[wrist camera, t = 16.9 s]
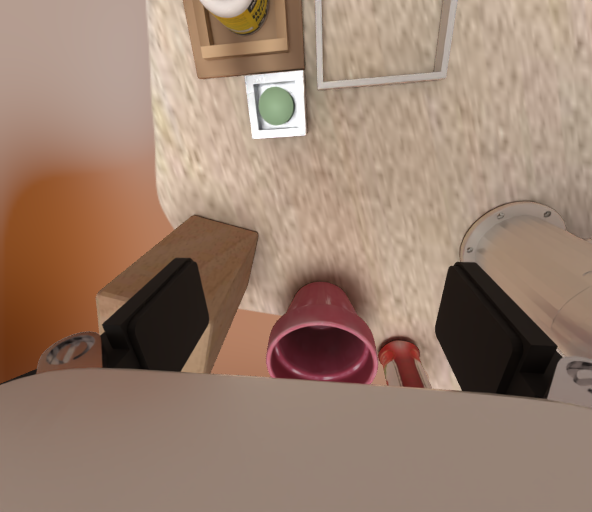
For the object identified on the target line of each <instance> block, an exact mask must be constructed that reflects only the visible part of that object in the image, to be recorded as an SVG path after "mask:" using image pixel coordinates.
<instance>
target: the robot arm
mask: <svg viewBox="0 0 592 512" xmlns="http://www.w3.org/2000/svg"><path fill="white" fill-rule="evenodd" d="M460 259H461V262H456V263H455V264H454V266H450V267H449V269H448V273H447V277H446V281H445V286H444V290H443V294H442V299H441V303H440V307H439V312H438V316H437V321H436V325H435V333H436V336H437V339H438V341H439V343H440V345H441V347H442V349H443V351H444V353H445V355H446V358H447V360H448V362H449V364H450V366H451V368H452V370H453V372H454V374H455V377H456V379H457V381H458V383H459V385H460V387H461V389H462V391H455V390H442V389H428V388H414V387H400V386H387V385H373V384H359V383H345V382H331V381H316V380H301V379H286V378H271V377H256V376H239V375H223V374H208V373H191V372H181V370H182V369H183V367H184V365H185V364H186V362H187V360H188V359H189V357H190V355H191V353H192V352H193V350H194V348H195V347H196V345H197V343H198V342H199V340H200V338H201V336H202V335H203V333H204V331H205V330H206V328H207V326H208V324H209V313H208V309H207V304H206V300H205V296H204V291H203V287H202V282H201V278H200V273H199V269H198V265H197V263H196V262H193V260H192V259H191V258H174V259H173V260H172V261H171V262H170V263H169V264H168V265H167V266H165V267H164V268H163V269H162V270H161V271H160V272H159V273H158V274H157V275H156V276H154V277H153V278H152V279H151V280H150V281H149V282H148V283H147V284H146V285H145V286H143V287H142V288H141V289H140V290H139V291H138V292H137V293H136V294H135V295H134V296H132V297H131V298H130V299H129V300H128V301H127V302H126V303H125V304H124V305H123V306H121V307H120V308H119V309H118V310H117V311H116V312H115V313H114V314H113V315H112V316H110V317H109V318H108V319H107V320H106V321H105V322H104V323H103V324H102V326H103V329H104V331H105V332H104V333H102V334H101V335H99V334H98V333H96V332H81V333H77V334H73V335H71V336H68V337H66V338H64V339H62V340H60V341H58V342H56V343H55V344H53V345H52V346H51V347H49V348H48V349H47V350H46V351H45V352H44V353H43V354H42V356H41V358H40V360H39V363H38V367H37V369H36V370H33V371H30V372H28V373H26V374H23V375H21V376H18V377H16V378H14V379H11V380H9V381H6V382H4V383H1V384H0V512H592V239H581V238H579V237H577V236H575V235H573V234H571V233H569V232H567V231H566V226H565V223H564V221H563V219H562V217H561V216H560V215H559V214H558V213H557V212H556V211H555V210H553V209H551V208H549V207H547V206H545V205H542V204H539V203H536V202H529V201H526V202H515V203H510V204H506V205H503V206H500V207H498V208H496V209H494V210H492V211H490V212H488V213H487V214H485V215H484V216H483V217H481V218H480V219H479V220H478V221H477V222H476V223H475V224H474V225H473V226H472V227H471V228H470V230H469V231H468V232H467V234H466V236H465V238H464V240H463V242H462V245H461V249H460ZM557 348H558V349H559V350H560V351H561V352H562V353H563V354H564V355H565V356H566V357H565V358H563V357H562V356H561V355H560V354H559V353H558V352H557V351H556V349H557Z"/></svg>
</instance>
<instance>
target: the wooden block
mask: <svg viewBox="0 0 592 512" xmlns="http://www.w3.org/2000/svg"><path fill="white" fill-rule="evenodd" d="M257 240H258V233H256V232H253V231H249V230H246V229H242V228H238V227H235V226H231V225H227V224H224V223H220V222H217V221H213V220H209V219H206V218H202V217H198V216H191V217H190V218H189V219H188V220H186V221H185V222H184V223H183V224H181V225H180V226H179V227H178V228H176V229H175V230H174V231H173V232H172V233H170V234H169V235H168V236H167V237H165V238H164V239H163V240H162V241H161V242H159V243H158V244H157V245H155V246H154V247H153V248H152V249H151V250H149V251H148V252H147V253H146V254H144V255H143V256H142V257H141V258H140V259H138V260H137V261H136V262H134V263H133V264H132V265H131V266H130V267H128V268H127V269H126V270H125V271H123V272H122V273H121V274H120V275H118V276H117V277H116V278H115V279H114V280H112V281H111V282H110V283H109V284H107V285H106V286H105V287H104V288H102V289H101V290H100V291H99V292H98V293H97V296H96V304H97V314H98V324H99V334H100V335H101V334H102V333H104V332H105V331H104V329H103V326H102V324H103V323H104V322H105V321H106V320H107V319H108V318H109V317H110V316H112V315H113V314H114V313H115V312H116V311H117V310H118V309H119V308H120V307H121V306H123V305H124V304H125V303H126V302H127V301H128V300H129V299H130V298H131V297H132V296H134V295H135V294H136V293H137V292H138V291H139V290H140V289H141V288H142V287H143V286H145V285H146V284H147V283H148V282H149V281H150V280H151V279H152V278H153V277H154V276H156V275H157V274H158V273H159V272H160V271H161V270H162V269H163V268H164V267H165V266H167V265H168V264H169V263H170V262H171V261H172V260H173V259H174V258H191V259H192V260H193V262H196V263H197V265H198V269H199V273H200V278H201V282H202V287H203V291H204V296H205V300H206V304H207V309H208V313H209V324H208V326H207V328H206V330H205V331H204V333H203V335H202V336H201V338H200V340H199V342H198V343H197V345H196V347H195V348H194V350H193V352H192V353H191V355H190V357H189V359H188V360H187V362H186V364H185V365H184V367H183V369H182V370H181V372H191V373H208V374H210V373H211V370H212V368H213V366H214V363H215V361H216V359H217V356H218V354H219V352H220V349H221V346H222V345H223V342H224V340H225V337H226V335H227V333H228V330H229V328H230V326H231V323H232V321H233V318H234V316H235V314H236V312H237V309H238V307H239V305H240V302H241V300H242V297H243V295H244V293H245V290H246V288H247V286H248V281H249V277H250V272H251V267H252V263H253V258H254V254H255V249H256V245H257Z"/></svg>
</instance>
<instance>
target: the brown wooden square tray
mask: <svg viewBox="0 0 592 512" xmlns="http://www.w3.org/2000/svg"><path fill="white" fill-rule="evenodd" d="M183 4H184V9H185V14H186V19H187V24H188V30H189V35H190V40H191V45H192V50H193V55H194V61H195V66H196V71H197V76H198V78H200V79H208V78H219V77H230V76H241V75H252V74H262V73H273V72H284V71H295V70H305V65H304V42H303V20H302V0H269V9H268V14H267V17H266V20H265V22H264V24H263V25H262V27H261V28H260V29H259V30H258V31H256V32H255V33H253V34H251V35H245V36H243V35H238V34H235V33H233V32H232V31H230V30H229V29H228V28H227V27H225V26H224V25H223V24H222V23H221V22H220V21H219V20H218V19H217V18H216V17H215V16H214V15H213V14H212V13H210V12H209V11H208V10H207V9H206V8H205V7H204V5H203V4H202V3H201V2H200V0H183Z"/></svg>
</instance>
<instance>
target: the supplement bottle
mask: <svg viewBox="0 0 592 512" xmlns="http://www.w3.org/2000/svg"><path fill="white" fill-rule="evenodd" d="M200 2H201V3H202V4H203V5H204V7H205V8H206V9H207V10H208V11H209V12H210V13H212V14H213V15H214V16H215V17H216V18H217V19H218V20H219V21H220V22H221V23H222V24H223V25H224V26H225V27H227V28H228V29H229V30H230V31H232V32H233V33H235V34H238V35H243V36H245V35H251V34H253V33H255V32H256V31H258V30H259V29H260V28H261V27H262V25H263V24H264V22H265V20H266V17H267V14H268V9H269V0H200Z"/></svg>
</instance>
